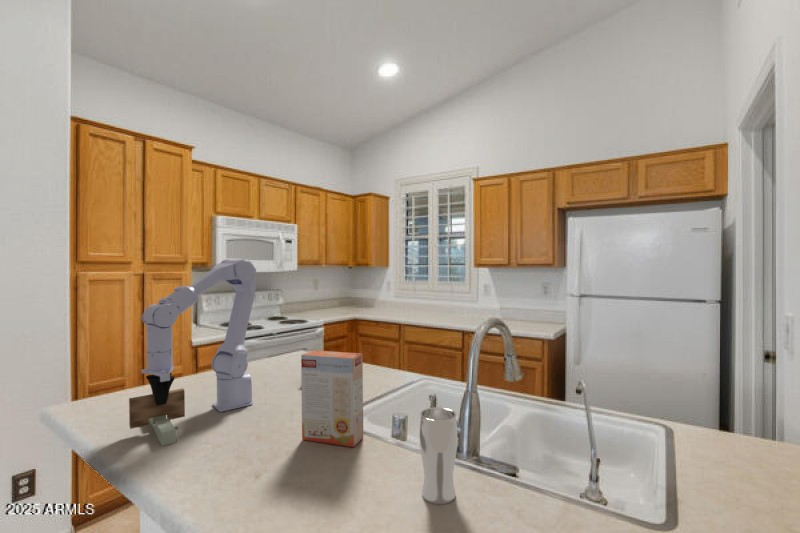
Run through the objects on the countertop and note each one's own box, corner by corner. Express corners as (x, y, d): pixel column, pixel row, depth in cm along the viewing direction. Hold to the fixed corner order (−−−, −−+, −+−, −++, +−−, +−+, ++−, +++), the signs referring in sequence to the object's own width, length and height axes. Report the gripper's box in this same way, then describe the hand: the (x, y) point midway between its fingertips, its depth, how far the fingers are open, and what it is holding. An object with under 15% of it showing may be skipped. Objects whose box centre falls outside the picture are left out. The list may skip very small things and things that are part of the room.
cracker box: (364, 437, 97) (363, 352, 97) (353, 448, 92) (352, 358, 91) (314, 430, 102) (313, 348, 102) (301, 440, 96) (300, 354, 96)
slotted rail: (160, 415, 112) (159, 404, 112) (176, 442, 96) (176, 429, 96) (147, 418, 111) (147, 407, 110) (161, 445, 94) (161, 433, 94)
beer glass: (417, 485, 76) (417, 407, 76) (453, 483, 77) (452, 406, 77) (422, 507, 70) (422, 421, 69) (461, 505, 70) (461, 420, 70)
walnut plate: (183, 414, 107) (182, 388, 107) (184, 416, 106) (184, 390, 106) (129, 426, 100) (129, 398, 99) (130, 428, 98) (130, 400, 98)
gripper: (137, 348, 106) (138, 399, 106) (145, 358, 95) (146, 415, 95) (168, 344, 110) (168, 393, 110) (179, 353, 99) (179, 408, 99)
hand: (160, 403), depth 103 cm, fingers closed on walnut plate, 2 cm apart
